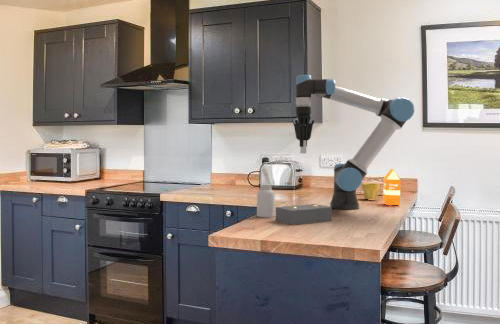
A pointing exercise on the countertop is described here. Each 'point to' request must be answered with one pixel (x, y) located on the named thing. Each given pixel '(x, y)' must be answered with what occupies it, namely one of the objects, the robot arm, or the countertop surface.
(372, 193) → the plant pot
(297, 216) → the block
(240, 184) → the countertop surface
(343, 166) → the robot arm
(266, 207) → the pill bottle
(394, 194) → the orange juice
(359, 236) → the countertop surface
